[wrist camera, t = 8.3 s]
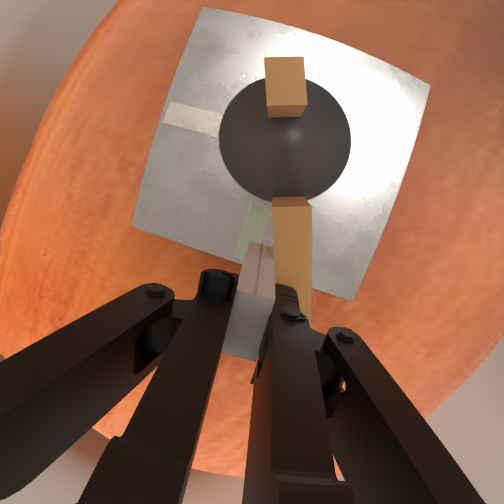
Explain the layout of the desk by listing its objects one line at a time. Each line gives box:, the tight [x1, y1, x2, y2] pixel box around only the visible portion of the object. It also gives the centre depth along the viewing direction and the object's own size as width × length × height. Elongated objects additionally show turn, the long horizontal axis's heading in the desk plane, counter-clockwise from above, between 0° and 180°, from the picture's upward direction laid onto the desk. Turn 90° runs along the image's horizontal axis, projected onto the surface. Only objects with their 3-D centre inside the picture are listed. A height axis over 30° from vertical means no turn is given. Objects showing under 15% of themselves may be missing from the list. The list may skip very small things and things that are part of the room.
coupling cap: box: [219, 56, 351, 328], centre depth 18 cm, size 14×8×8 cm, turn 3°
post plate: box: [131, 7, 431, 301], centre depth 24 cm, size 22×22×6 cm
